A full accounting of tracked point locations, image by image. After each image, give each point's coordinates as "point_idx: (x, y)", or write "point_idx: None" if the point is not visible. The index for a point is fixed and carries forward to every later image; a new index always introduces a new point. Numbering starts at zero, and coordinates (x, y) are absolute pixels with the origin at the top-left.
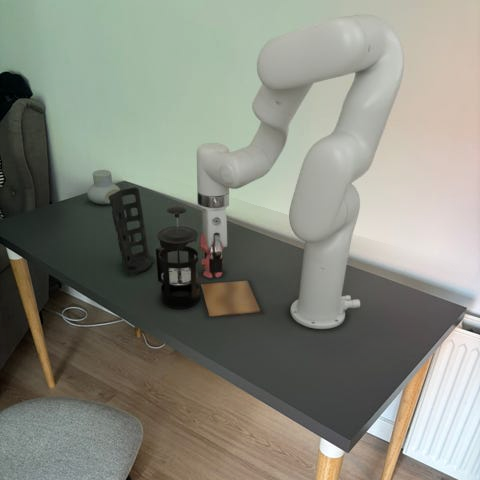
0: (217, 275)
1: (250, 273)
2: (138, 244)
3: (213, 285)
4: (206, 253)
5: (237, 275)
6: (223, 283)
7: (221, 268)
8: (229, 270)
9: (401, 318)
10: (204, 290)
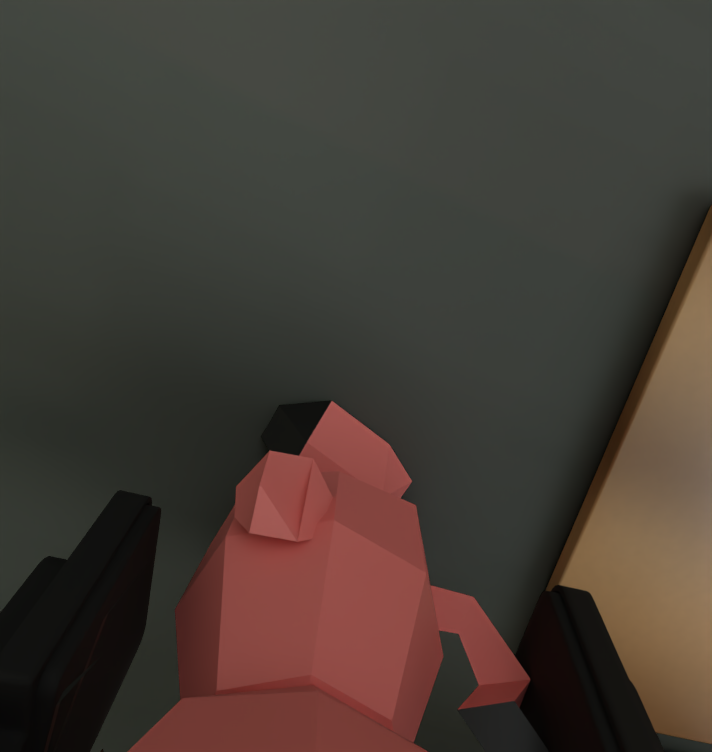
0: (397, 493)
1: (502, 28)
2: None
3: None
4: (110, 703)
5: (470, 247)
6: (617, 513)
7: (601, 636)
8: (300, 290)
9: None
10: None
